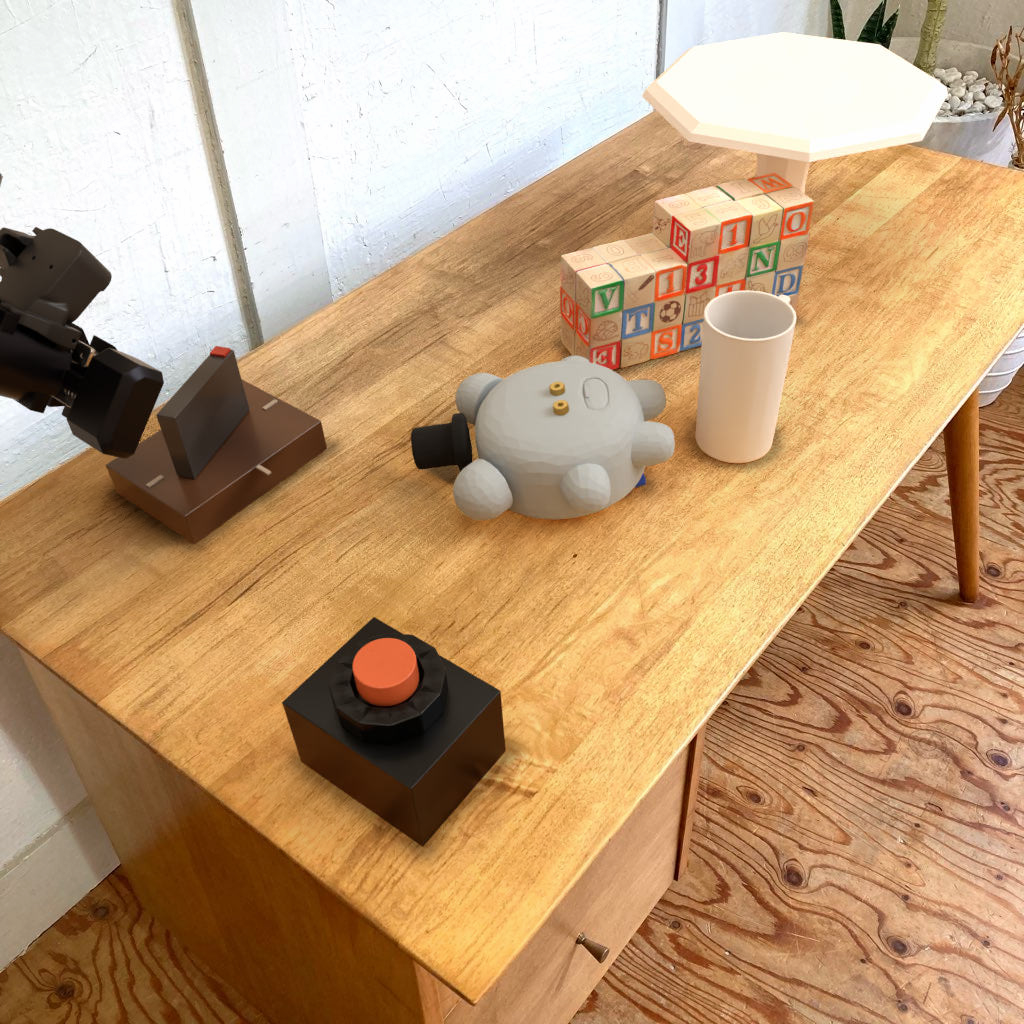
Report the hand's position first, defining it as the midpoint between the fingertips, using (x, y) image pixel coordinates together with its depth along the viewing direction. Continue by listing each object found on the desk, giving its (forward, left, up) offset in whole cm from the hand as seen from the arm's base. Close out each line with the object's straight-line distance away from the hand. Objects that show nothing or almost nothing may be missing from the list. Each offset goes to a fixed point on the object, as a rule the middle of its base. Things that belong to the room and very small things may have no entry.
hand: (148, 393), depth 79 cm
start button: (+24, -23, -2) cm, 33 cm away
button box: (+24, -23, -9) cm, 34 cm away
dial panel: (+3, +2, -9) cm, 10 cm away
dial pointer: (+3, +2, -6) cm, 7 cm away
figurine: (+29, +5, -9) cm, 31 cm away
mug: (+45, +12, -9) cm, 47 cm away
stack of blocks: (+39, +25, -9) cm, 47 cm away
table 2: (+48, +43, -9) cm, 65 cm away
